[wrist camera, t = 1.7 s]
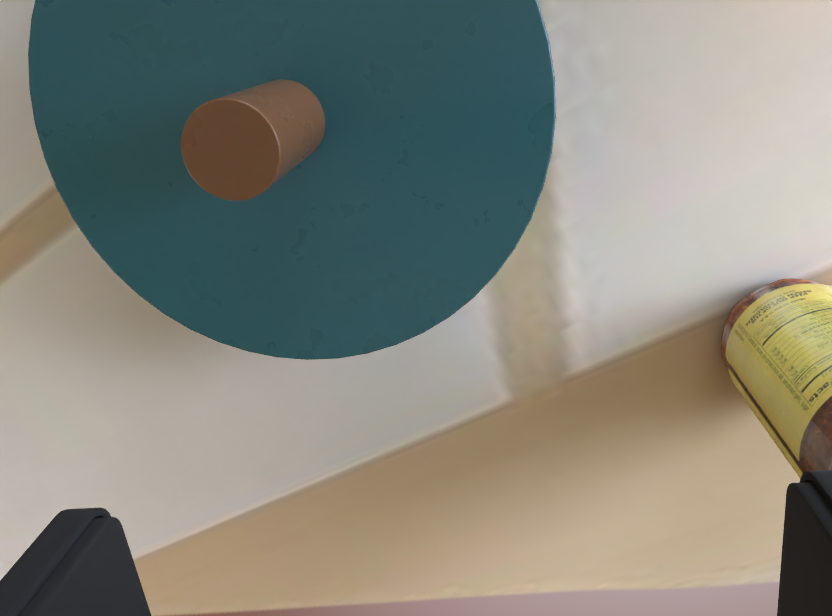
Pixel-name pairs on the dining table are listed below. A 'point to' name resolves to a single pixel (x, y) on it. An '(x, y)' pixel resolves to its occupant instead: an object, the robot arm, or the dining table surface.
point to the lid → (297, 156)
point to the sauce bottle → (786, 366)
